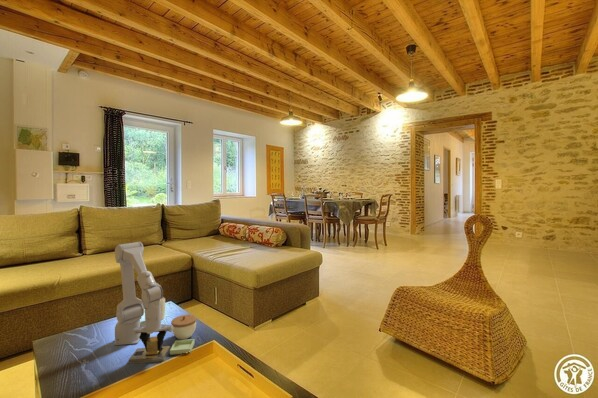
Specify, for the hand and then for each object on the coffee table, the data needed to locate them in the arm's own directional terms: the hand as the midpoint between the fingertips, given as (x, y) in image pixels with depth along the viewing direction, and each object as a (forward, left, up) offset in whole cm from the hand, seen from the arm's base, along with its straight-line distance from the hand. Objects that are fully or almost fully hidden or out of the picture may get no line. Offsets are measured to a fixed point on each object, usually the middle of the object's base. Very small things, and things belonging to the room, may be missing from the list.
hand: (154, 349), depth 118 cm
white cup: (-11, +36, -3) cm, 38 cm away
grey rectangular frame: (-1, 0, -3) cm, 3 cm away
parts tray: (+10, +4, -3) cm, 11 cm away
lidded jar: (+8, +15, -3) cm, 17 cm away
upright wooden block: (0, 0, -3) cm, 3 cm away
